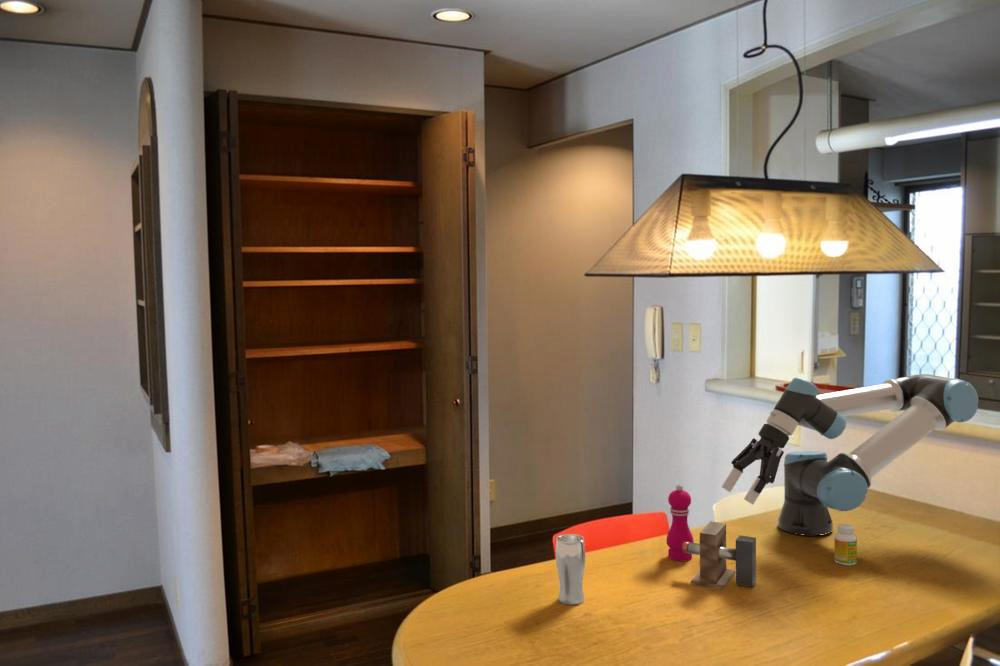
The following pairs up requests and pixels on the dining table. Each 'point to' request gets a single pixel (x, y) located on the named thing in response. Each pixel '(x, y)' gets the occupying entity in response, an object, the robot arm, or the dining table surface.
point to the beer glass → (570, 567)
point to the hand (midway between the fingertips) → (736, 495)
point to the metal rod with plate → (735, 558)
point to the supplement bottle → (845, 545)
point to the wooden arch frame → (712, 558)
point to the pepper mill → (679, 524)
